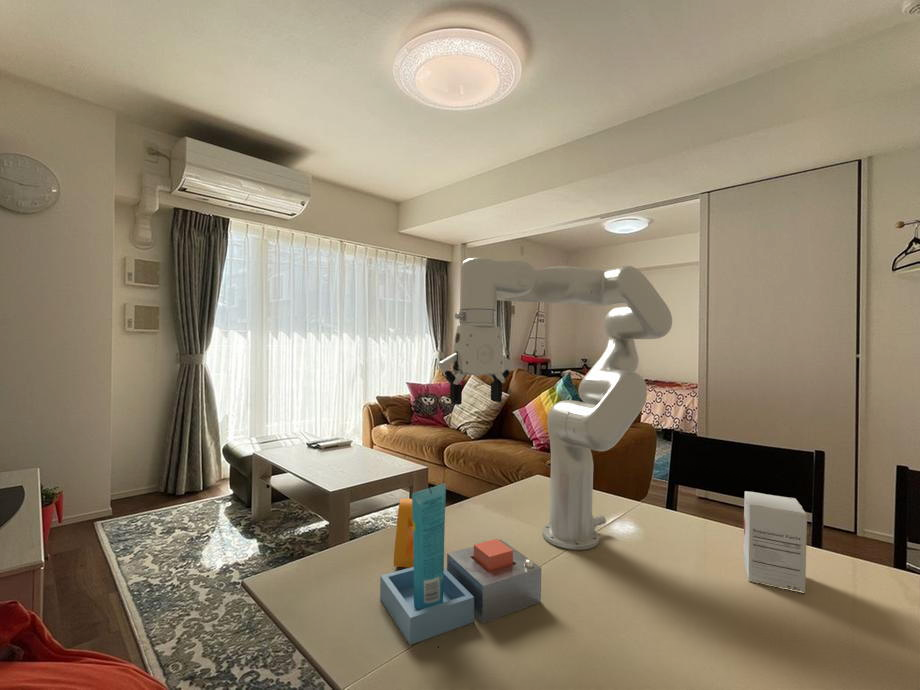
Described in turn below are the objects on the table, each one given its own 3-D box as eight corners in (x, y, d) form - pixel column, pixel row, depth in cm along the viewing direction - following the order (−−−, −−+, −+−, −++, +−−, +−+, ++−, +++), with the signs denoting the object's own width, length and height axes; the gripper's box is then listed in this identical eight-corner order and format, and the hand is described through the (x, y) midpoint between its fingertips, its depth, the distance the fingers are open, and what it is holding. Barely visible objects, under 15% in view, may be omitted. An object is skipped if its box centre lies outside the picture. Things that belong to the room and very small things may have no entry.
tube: (431, 588, 76) (434, 479, 76) (453, 598, 73) (455, 485, 73) (401, 608, 70) (403, 490, 70) (423, 620, 67) (425, 497, 67)
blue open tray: (436, 582, 80) (437, 560, 80) (473, 622, 68) (474, 597, 68) (380, 598, 74) (380, 575, 74) (409, 645, 63) (410, 617, 63)
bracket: (430, 573, 83) (431, 511, 83) (393, 570, 84) (394, 509, 84) (438, 547, 94) (439, 492, 94) (405, 544, 94) (406, 490, 94)
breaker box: (500, 569, 84) (501, 534, 84) (540, 602, 74) (541, 561, 74) (446, 585, 78) (447, 547, 78) (482, 623, 68) (483, 579, 68)
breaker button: (496, 576, 80) (496, 538, 80) (512, 590, 75) (513, 550, 75) (473, 583, 77) (473, 544, 77) (488, 598, 73) (489, 556, 73)
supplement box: (742, 561, 90) (743, 489, 90) (795, 572, 86) (797, 497, 86) (746, 582, 82) (748, 503, 82) (806, 595, 78) (808, 513, 78)
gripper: (450, 316, 81) (448, 407, 81) (523, 320, 89) (521, 402, 89) (432, 318, 87) (430, 402, 87) (502, 321, 96) (500, 398, 96)
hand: (476, 402), depth 88 cm, fingers open, 9 cm apart
